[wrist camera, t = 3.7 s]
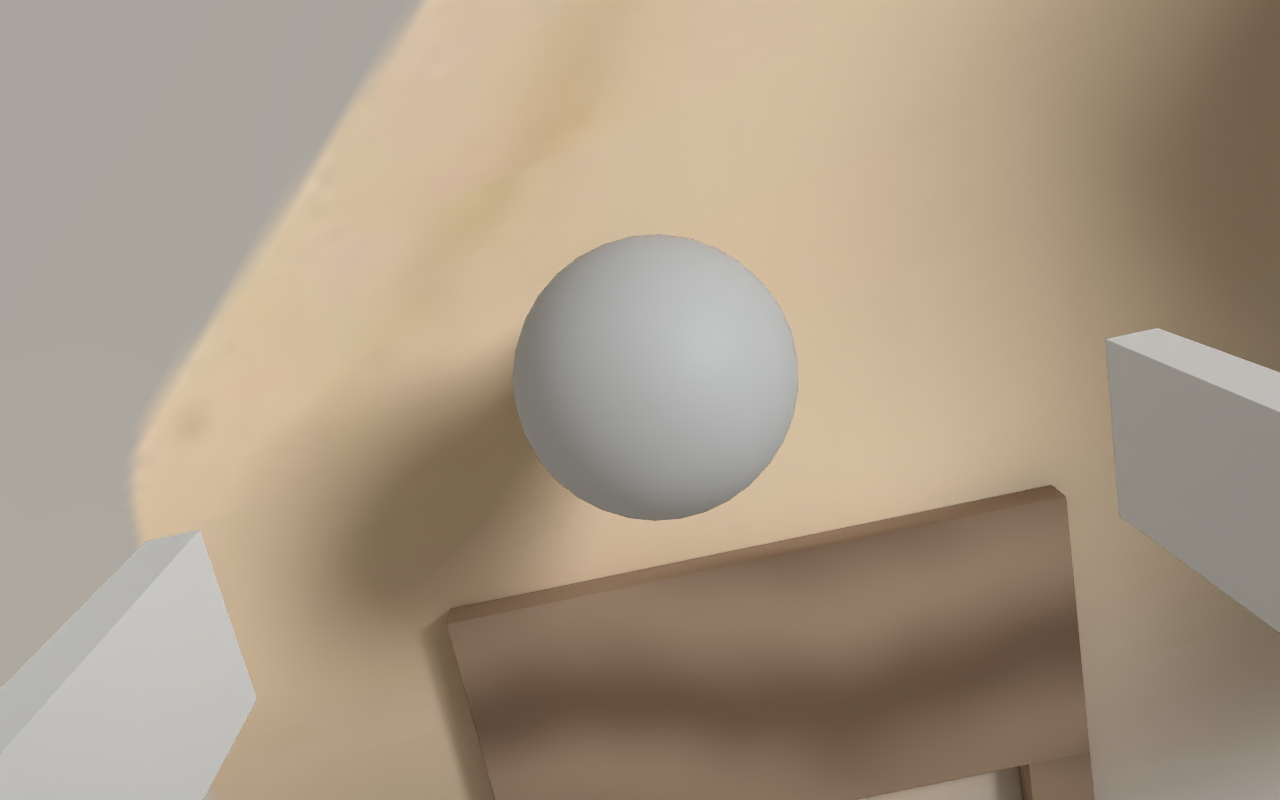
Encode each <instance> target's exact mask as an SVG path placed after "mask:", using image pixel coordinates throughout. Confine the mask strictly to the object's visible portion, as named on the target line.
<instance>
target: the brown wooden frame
mask: <svg viewBox="0 0 1280 800" xmlns="http://www.w3.org/2000/svg"><path fill="white" fill-rule="evenodd" d="M447 628H448V631H449V635H450V639H451V642H452V646H453V650H454V653H455V657H456V660H457V664H458V668H459V671H460V675H461V678H462V682H463V686H464V689H465V693H466V696H467V700H468V704H469V707H470V711H471V714H472V718H473V722H474V725H475V729H476V732H477V736H478V740H479V743H480V747H481V750H482V754H483V758H484V761H485V765H486V768H487V772H488V776H489V779H490V783H491V786H492V790H493V794H494V797H495V800H857V799H862V798H867V797H872V796H877V795H882V794H887V793H891V792H896V791H901V790H906V789H911V788H916V787H921V786H925V785H930V784H935V783H940V782H945V781H950V780H955V779H959V778H964V777H969V776H974V775H979V774H984V773H989V772H993V771H998V770H1003V769H1008V768H1013V767H1018V766H1019V771H1020V780H1021V789H1022V797H1023V800H1094V795H1093V784H1092V773H1091V762H1090V751H1089V740H1088V730H1087V719H1086V708H1085V697H1084V686H1083V676H1082V665H1081V654H1080V643H1079V632H1078V621H1077V611H1076V600H1075V589H1074V578H1073V567H1072V557H1071V546H1070V535H1069V524H1068V513H1067V502H1066V496H1065V495H1063V494H1062V493H1061V492H1060V491H1058V490H1057V489H1056V488H1055V487H1053V486H1052V485H1050V486H1045V487H1040V488H1035V489H1030V490H1026V491H1021V492H1016V493H1011V494H1006V495H1001V496H997V497H992V498H987V499H982V500H977V501H972V502H967V503H963V504H958V505H953V506H948V507H943V508H938V509H934V510H929V511H924V512H919V513H914V514H909V515H904V516H900V517H895V518H890V519H885V520H880V521H875V522H871V523H866V524H861V525H856V526H851V527H846V528H841V529H837V530H832V531H827V532H822V533H817V534H812V535H808V536H803V537H798V538H793V539H788V540H783V541H778V542H774V543H769V544H764V545H759V546H754V547H749V548H745V549H740V550H735V551H730V552H725V553H720V554H715V555H711V556H706V557H701V558H696V559H691V560H686V561H682V562H677V563H672V564H667V565H662V566H657V567H652V568H648V569H643V570H638V571H633V572H628V573H623V574H619V575H614V576H609V577H604V578H599V579H594V580H589V581H585V582H580V583H575V584H570V585H565V586H560V587H556V588H551V589H546V590H541V591H536V592H531V593H526V594H522V595H517V596H512V597H507V598H502V599H497V600H493V601H488V602H483V603H478V604H473V605H468V606H463V607H459V608H454V609H450V613H449V617H448V621H447Z"/></svg>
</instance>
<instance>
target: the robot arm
mask: <svg viewBox="0 0 1280 800" xmlns="http://www.w3.org/2000/svg"><path fill="white" fill-rule="evenodd" d="M1105 341H1106V354H1107V366H1108V379H1109V392H1110V405H1111V418H1112V430H1113V443H1114V456H1115V469H1116V482H1117V494H1118V507H1119V516H1120V517H1122V518H1123V519H1124V520H1126V521H1127V522H1129V523H1130V524H1131V525H1133V526H1134V527H1135V528H1137V529H1138V530H1139V531H1141V532H1142V533H1144V534H1145V535H1146V536H1148V537H1149V538H1150V539H1152V540H1153V541H1155V542H1156V543H1157V544H1159V545H1160V546H1161V547H1163V548H1164V549H1166V550H1167V551H1168V552H1170V553H1171V554H1172V555H1174V556H1175V557H1176V558H1178V559H1179V560H1181V561H1182V562H1183V563H1185V564H1186V565H1187V566H1189V567H1190V568H1192V569H1193V570H1194V571H1196V572H1197V573H1198V574H1200V575H1201V576H1202V577H1204V578H1205V579H1207V580H1208V581H1209V582H1211V583H1212V584H1213V585H1215V586H1216V587H1218V588H1219V589H1220V590H1222V591H1223V592H1224V593H1226V594H1227V595H1229V596H1230V597H1231V598H1233V599H1234V600H1235V601H1237V602H1238V603H1239V604H1241V605H1242V606H1244V607H1245V608H1246V609H1248V610H1249V611H1250V612H1252V613H1253V614H1255V615H1256V616H1257V617H1259V618H1260V619H1261V620H1263V621H1264V622H1266V623H1267V624H1268V625H1270V626H1271V627H1272V628H1274V629H1275V630H1276V631H1278V632H1279V633H1280V372H1277V371H1275V370H1272V369H1269V368H1266V367H1264V366H1261V365H1258V364H1255V363H1253V362H1250V361H1247V360H1244V359H1242V358H1239V357H1236V356H1233V355H1231V354H1228V353H1225V352H1222V351H1220V350H1217V349H1214V348H1211V347H1209V346H1206V345H1203V344H1200V343H1198V342H1195V341H1192V340H1189V339H1187V338H1184V337H1181V336H1178V335H1176V334H1173V333H1170V332H1167V331H1165V330H1162V329H1159V328H1155V329H1150V330H1146V331H1141V332H1136V333H1131V334H1127V335H1122V336H1117V337H1112V338H1108V339H1105ZM256 700H257V697H256V694H255V691H254V688H253V686H252V683H251V680H250V677H249V674H248V671H247V668H246V665H245V662H244V659H243V656H242V653H241V650H240V647H239V644H238V641H237V639H236V636H235V633H234V630H233V627H232V624H231V621H230V618H229V615H228V612H227V609H226V606H225V603H224V600H223V597H222V594H221V592H220V589H219V586H218V583H217V580H216V577H215V574H214V571H213V568H212V565H211V562H210V559H209V556H208V553H207V550H206V547H205V545H204V542H203V539H202V536H201V533H200V530H196V531H192V532H187V533H182V534H177V535H173V536H168V537H163V538H158V539H154V540H149V541H146V542H145V543H144V544H143V545H142V546H141V547H140V548H139V549H138V550H137V551H136V552H135V553H134V554H133V555H132V556H131V557H130V558H129V559H128V560H127V561H126V562H125V563H124V564H123V565H122V566H121V567H120V568H119V569H118V570H117V571H116V572H115V573H114V574H113V575H112V576H111V577H110V578H109V579H108V580H107V581H106V582H105V583H104V584H103V585H102V586H101V587H100V588H99V589H98V590H97V591H96V592H95V593H94V594H93V595H92V596H91V597H90V598H89V599H88V600H87V601H86V602H85V603H84V604H83V605H82V606H81V608H79V610H77V611H76V613H75V614H74V615H73V616H72V617H71V618H70V619H69V620H68V621H67V622H66V623H65V624H64V625H63V626H62V627H61V628H60V629H59V630H58V631H57V632H56V633H55V634H54V635H53V636H52V637H51V638H50V639H49V640H48V641H47V642H46V643H45V644H44V645H43V646H42V647H41V648H40V649H39V650H38V651H37V652H36V653H35V654H34V655H33V656H32V657H31V658H30V659H29V660H28V661H27V662H26V663H25V664H24V665H23V666H22V667H21V668H20V669H19V670H18V671H17V672H16V673H15V674H14V675H13V676H12V677H11V678H10V679H9V680H8V681H7V682H6V683H5V684H4V685H3V686H2V687H1V688H0V800H203V799H204V797H205V796H206V794H207V792H208V790H209V788H210V786H211V784H212V782H213V781H214V779H215V777H216V775H217V773H218V771H219V769H220V767H221V766H222V764H223V762H224V760H225V758H226V756H227V754H228V752H229V751H230V749H231V747H232V745H233V743H234V741H235V739H236V737H237V736H238V734H239V732H240V730H241V728H242V726H243V724H244V722H245V721H246V719H247V717H248V715H249V713H250V711H251V709H252V707H253V706H254V704H255V702H256Z"/></svg>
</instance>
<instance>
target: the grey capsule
mask: <svg viewBox="0 0 1280 800" xmlns="http://www.w3.org/2000/svg"><path fill="white" fill-rule="evenodd" d="M513 389H514V398H515V407H516V410H517V413H518V416H519V419H520V422H521V426H522V429H523V432H524V434H525V435H526V437H527V439H528V441H529V443H530V444H531V446H532V448H533V450H534V452H535V453H536V455H537V457H538V459H539V461H540V462H541V463H542V464H543V465H544V466H545V468H546V469H547V470H548V471H549V472H550V474H551V475H552V476H553V477H554V478H555V479H556V481H558V482H559V483H560V484H561V485H563V486H564V487H565V488H566V489H568V490H569V491H570V492H571V493H573V494H574V495H575V496H577V497H578V498H580V499H582V500H584V501H586V502H588V503H590V504H592V505H593V506H595V507H597V508H599V509H601V510H604V511H608V512H611V513H614V514H618V515H621V516H624V517H628V518H634V519H644V520H654V521H657V520H669V519H681V518H684V517H688V516H692V515H695V514H699V513H703V512H706V511H708V510H710V509H712V508H714V507H716V506H719V505H721V504H723V503H725V502H727V501H729V500H730V499H732V498H733V497H734V496H736V495H737V494H738V493H740V492H741V491H742V490H744V489H745V488H747V487H748V486H749V485H750V484H751V483H752V482H753V481H754V480H755V479H756V478H757V477H758V476H759V475H760V473H761V472H762V471H763V470H764V469H765V468H766V467H767V466H768V465H769V464H770V462H771V460H772V459H773V457H774V456H775V454H776V453H777V451H778V449H779V448H780V446H781V445H782V443H783V441H784V439H785V437H786V434H787V431H788V429H789V426H790V424H791V421H792V418H793V415H794V410H795V404H796V398H797V392H798V373H797V354H796V350H795V346H794V341H793V337H792V333H791V329H790V327H789V325H788V323H787V321H786V319H785V316H784V314H783V312H782V310H781V308H780V306H779V304H778V303H777V301H776V300H775V299H774V297H773V296H772V295H771V293H770V292H769V291H768V289H767V288H766V287H765V285H764V284H763V283H762V282H761V281H760V280H759V279H758V278H757V277H756V276H755V275H753V274H752V273H751V272H750V271H749V270H748V269H747V268H746V267H745V266H743V265H742V264H741V263H740V262H739V261H738V260H736V259H734V258H732V257H731V256H729V255H727V254H726V253H724V252H722V251H720V250H719V249H717V248H715V247H713V246H710V245H707V244H704V243H701V242H698V241H695V240H692V239H689V238H683V237H675V236H668V235H646V236H633V237H628V238H625V239H621V240H617V241H614V242H610V243H607V244H603V245H601V246H599V247H597V248H595V249H594V250H592V251H590V252H588V253H586V254H584V255H582V256H580V257H578V258H577V259H575V260H574V261H573V262H572V263H570V264H569V265H568V266H567V267H565V268H564V269H563V270H561V271H560V272H559V273H558V274H556V276H555V277H554V278H553V279H552V280H551V281H550V283H549V284H548V285H547V286H546V287H545V288H544V290H543V291H542V292H541V293H540V294H539V296H538V297H537V299H536V301H535V303H534V304H533V306H532V308H531V310H530V312H529V314H528V315H527V317H526V319H525V321H524V325H523V328H522V331H521V334H520V337H519V341H518V344H517V347H516V351H515V359H514V369H513Z"/></svg>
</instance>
